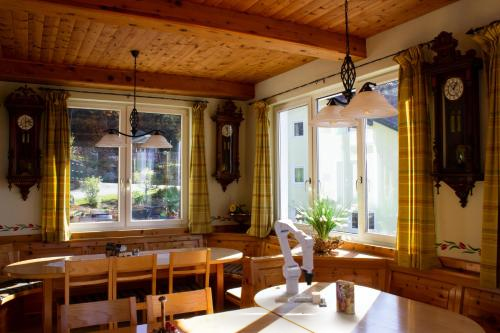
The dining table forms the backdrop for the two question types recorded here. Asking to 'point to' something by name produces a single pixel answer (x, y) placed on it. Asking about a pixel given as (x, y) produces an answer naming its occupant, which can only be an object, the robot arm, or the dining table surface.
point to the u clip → (315, 297)
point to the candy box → (345, 296)
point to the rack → (311, 300)
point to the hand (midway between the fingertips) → (308, 283)
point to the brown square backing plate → (281, 300)
